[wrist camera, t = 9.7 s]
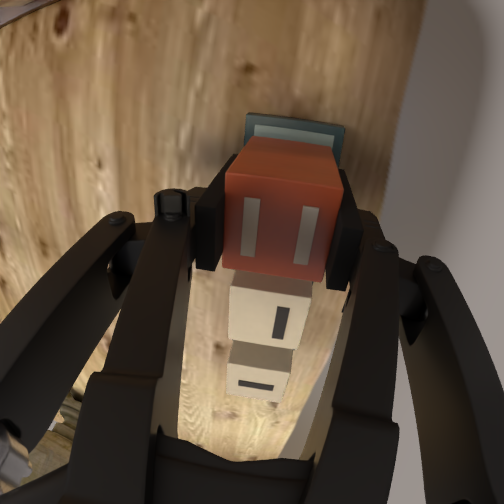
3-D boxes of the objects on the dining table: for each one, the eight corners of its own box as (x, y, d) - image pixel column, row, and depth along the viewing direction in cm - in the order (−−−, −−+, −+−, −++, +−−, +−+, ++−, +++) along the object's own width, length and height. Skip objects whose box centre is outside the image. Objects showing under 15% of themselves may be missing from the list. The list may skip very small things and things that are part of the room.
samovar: (51, 337, 38) (-57, 549, 5) (169, 432, 48) (109, 616, 15) (9, 362, 50) (-64, 494, 17) (92, 431, 60) (41, 557, 27)
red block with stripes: (251, 135, 17) (224, 172, 11) (331, 146, 16) (345, 189, 11) (246, 206, 19) (220, 269, 14) (318, 216, 19) (321, 284, 13)
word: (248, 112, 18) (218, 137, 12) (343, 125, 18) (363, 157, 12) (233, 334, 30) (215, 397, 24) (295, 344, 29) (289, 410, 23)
